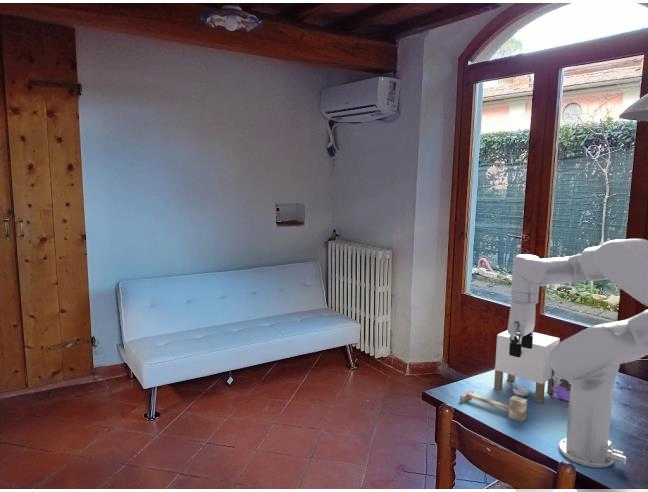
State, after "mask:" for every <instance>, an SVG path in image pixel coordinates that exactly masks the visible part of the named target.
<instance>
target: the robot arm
mask: <svg viewBox="0 0 648 492" xmlns="http://www.w3.org/2000/svg"><path fill="white" fill-rule="evenodd" d="M605 280H606V281H607V280H608V281H610V282H611V283H613V284H614V285H615V286H617V287H618V288H619V289H621V290H622V291H624V292H625V293H626V294H628V295H630V296H631V297H632V298H634V299H635V300H636V301H638V302H639V303H641V304H642V305H644V306H646V307H648V240H647V239H644V238H627V239H625V238H624V239H613V240H612V239H611V240H609V241H606V242H603V243H602V244H601V245H596V246H591V247H587V248H585V249H584V250H582V252H581V254H575V255H569V256H563V257H562V256H561V257H549V258H548V257H547V258H540V257H539V256H537V255H534V254H525V253H524V254H522V253H521V254H517V255H515V256H514V258H513V262H512V275H511V290H510V301H511V304H510V308H509V315H508V324H507V330H508V333H509V334H510V337H509V338H510V347H509V355H511V356H515V357H521V347H524V348H529V349H531V348H532V343H533V332H534V330H535V325H536V308H537V307H536V305H537V304H538V303H539V295H540V294H539V293H540V287H546V286H552V285H553V286H555V285H556V286H557V285H565V284H572V283H578V282H579V283H580V282H585V281H592V282H598V281H599V282H600V281H605ZM516 332H517V333H516ZM519 333H521V334H519ZM516 336H518V337H519V338H518V339H517V337H516ZM520 342H521V344H520ZM646 356H648V309H645V310H643V311H642V312H640V313H638V314H635V315H634V316H632V317H629V318H627V319H623V320H617V321H616V320H615V321H610V322H603V323H599V324H596V325H592V326H589V327H587V328H585V329H582V330H580V331H579V332H577V333H575V334H573V335H571V336H569V337H567V338H565V339H564V340H561V341H560V342H559V343H558V344H557V345H556V346H555V347H554V348H553V350H552V352H551V355H550V363H551V366H552V369H553V370H554V372H555V373H556V374H557V375H559V376H560V377H562V378H564V379H567V380H572V383H571V389H570V400H569V402H568V411H567V412H568V414H567V423H566V425H567V426H566V437H565V438H563V439H561V440H560V441H559V443H558V447H559V448H558V450H559V451H560V453H561V454H562V455H563V456H564V457H565V458H566V459H568V460H570V461H571V462H573V463H575V464H579V465H582V466H585V467H590V468H595V469H596V468H598V469H601V468H603V469H604V468H607V467H610V466H612V465H613V463H614V461H615V462H617V463H618V464H621V465H626V463H627V456H625V455H624V451H621V450H620V449H619V450H618V449H615V448H614V447H612V444H613V443H612V441H611V440H609V437H610V436H609V435H610V426H611V417H612V407H613V405H612V404H613V396H614V389H615V383H616V379H617V377H618V373H619V369H620V365H622V364H627V363H631V362H635V361H637V360H640V359H641V358H643V357H646Z"/></svg>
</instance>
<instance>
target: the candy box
mask: <svg viewBox="0 0 648 492" xmlns="http://www.w3.org/2000/svg"><path fill="white" fill-rule="evenodd" d="M571 383H572V380H567V379H564V378H562V377H560V376H559V375H557V374H556V373H555V372H554V370H553V378H552V390H551V393H550V397H551V398H552V399H555V400H560V401H563V402H566V403H569V400H570V389H571Z"/></svg>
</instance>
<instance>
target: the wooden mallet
mask: <svg viewBox="0 0 648 492" xmlns="http://www.w3.org/2000/svg"><path fill="white" fill-rule="evenodd" d="M470 399H473V400H475V401H479V402H481V403H485V404H486V405H490V406H493V407H495V408H498V409H501V410H504V411H506V412H508V418H510V419H512V420H515V421H517V422H521V423H523V422H524V421H525V420H526V419H527V412H528V411H527V408H528V399H525V398H522V397H521V396H520V397H519V396H518V395H513V396H511V397H510V398H509V403H508V404H509V405H508V404H504V403H502V402H499V401H496V400H493V399H491V398H488V397H485V396H483V395H481V394H480V395H479V394H477V393H475V392H473V390H468V391H466V392H465V393H464V392H463V393H462V394H461V395H460V396H459V403H462V402H464V403H465V402H467V401H469V400H470Z"/></svg>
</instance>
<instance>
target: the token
mask: <svg viewBox="0 0 648 492" xmlns="http://www.w3.org/2000/svg"><path fill="white" fill-rule="evenodd" d="M512 392H513V394H514V395H515V396H518V397H519V396H520V397H527V396H529V394H530V393H529V392H530V391H529V389H528V388H525V387H521V386H515V387H513V388H512Z"/></svg>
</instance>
